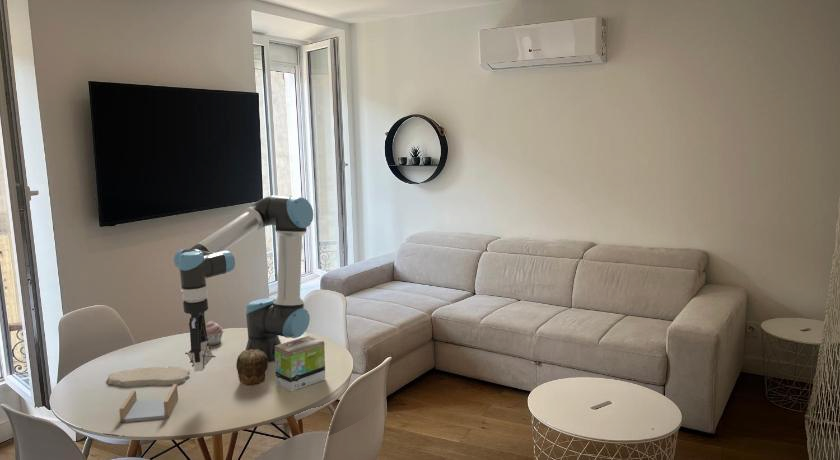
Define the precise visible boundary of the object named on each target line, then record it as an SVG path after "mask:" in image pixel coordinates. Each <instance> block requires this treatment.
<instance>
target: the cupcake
mask: <svg viewBox="0 0 840 460" xmlns="http://www.w3.org/2000/svg"><path fill="white" fill-rule="evenodd" d="M205 325H206V332H207V337H206V338H209V340H208V341H205V342H206V344H207V343H209V345H208V346H215V345H219V344H220V343H221V342H222V337H223V333H224V331H225V330H223V327H222V326H221V325H220V324H219V323H217V322H214V321H213V320H209V321H208V322H207V323H205Z"/></svg>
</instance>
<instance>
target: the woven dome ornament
mask: <svg viewBox="0 0 840 460" xmlns="http://www.w3.org/2000/svg"><path fill="white" fill-rule="evenodd" d="M235 365H236V367H235V368H236V371H237V376H238V381H239V382H240V384H241V385H244V386H256V385H261V384H262V383H264V382H265V380H266V373H267V370H268V369H269V368H268V367H269V362H268V359H267V356H266V354H265V353H264V352H262V351H260V350H258V349H256V350H252V349H250V350H246V349H245V350H242V351H241V352H240V353H239V355H238V356H237V359H236V364H235Z"/></svg>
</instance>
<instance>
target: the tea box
mask: <svg viewBox="0 0 840 460" xmlns="http://www.w3.org/2000/svg"><path fill="white" fill-rule="evenodd" d="M325 351H326V350H325V341H324V340H321V339H319V338H315V337H314V336H313V337H312V336H309V335H307V336H304V337H299V338H295V339H293V340H290V341H287V342H283V343H281V344H279V345H276V346H275V361H274V367H275V368H274V371H275V372H274V373H275V385H276V386H278V387H280V388H282V389H284V390H287V391H289V392H292V393H293V392H294V391H296V390H298V389H299V390H300V389H301V388H304V387H305V388H306V387H307V386H310V385H312V384H316V383H318V382H322V381H325V380H326V357H325V355H326V354H325V353H326V352H325ZM324 379H325V380H324Z"/></svg>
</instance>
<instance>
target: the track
mask: <svg viewBox="0 0 840 460" xmlns="http://www.w3.org/2000/svg"><path fill="white" fill-rule="evenodd" d="M178 401H179V393H178V384H173V385H171V388H170V390H169V391H168V393H167V395H166V397H161V398H160V397H159V398H150V399H138V400H137V391H136V390H131V391H130V393H128V395H127V397H126V398H125V400H124V401H123V403H122V404H121V405H120V407H119V408H118V409H119V419H120V423H129V422H142V421H152V420H162V419H170V417H171V416H172V413H173V411H174V409H175V407H176V405H177V403H178Z"/></svg>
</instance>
